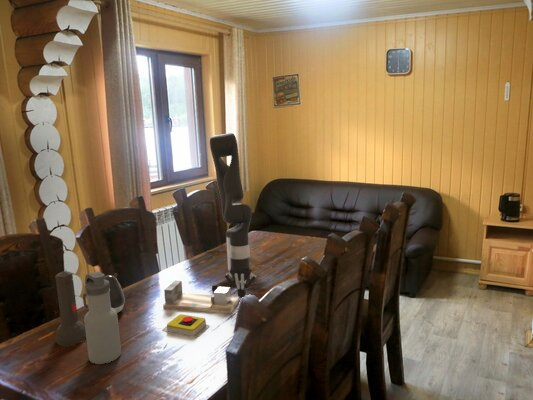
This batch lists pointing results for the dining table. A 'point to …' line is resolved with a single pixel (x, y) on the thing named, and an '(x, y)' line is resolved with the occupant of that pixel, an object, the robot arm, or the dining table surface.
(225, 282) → the hand tool
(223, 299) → the light grey cube
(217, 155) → the robot arm
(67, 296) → the flashlight
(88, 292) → the water bottle
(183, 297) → the base
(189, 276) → the dining table surface
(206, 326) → the emergency button
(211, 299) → the drag pointer
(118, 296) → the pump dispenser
